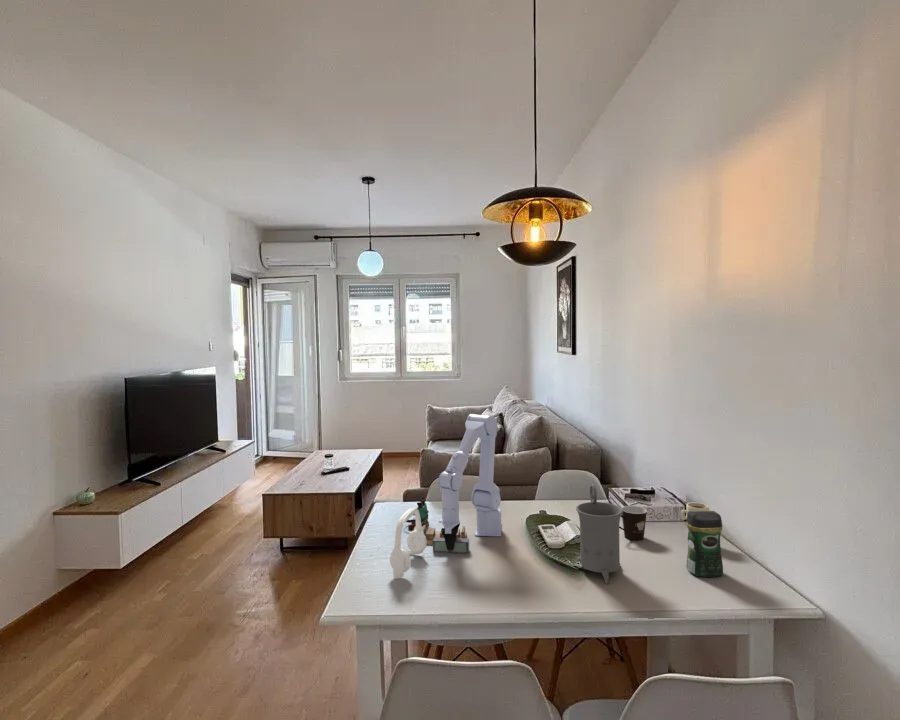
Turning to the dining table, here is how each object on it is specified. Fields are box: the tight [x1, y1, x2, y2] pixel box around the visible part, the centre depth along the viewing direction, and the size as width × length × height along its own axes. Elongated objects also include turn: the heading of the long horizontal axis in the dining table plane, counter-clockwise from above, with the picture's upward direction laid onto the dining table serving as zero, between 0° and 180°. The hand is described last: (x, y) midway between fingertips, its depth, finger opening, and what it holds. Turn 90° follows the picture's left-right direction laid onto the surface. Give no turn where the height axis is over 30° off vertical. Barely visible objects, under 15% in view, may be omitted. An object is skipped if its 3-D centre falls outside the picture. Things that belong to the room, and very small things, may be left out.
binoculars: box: [405, 497, 430, 530], centre depth 202 cm, size 9×11×10 cm
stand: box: [423, 525, 468, 546], centre depth 189 cm, size 16×10×4 cm, turn 83°
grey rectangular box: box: [432, 537, 470, 555], centre depth 178 cm, size 12×3×4 cm, turn 82°
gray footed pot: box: [575, 483, 623, 585], centre depth 161 cm, size 19×15×25 cm
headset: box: [389, 507, 427, 580], centre depth 166 cm, size 20×7×18 cm, turn 164°
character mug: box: [680, 501, 710, 541], centre depth 182 cm, size 11×7×13 cm, turn 81°
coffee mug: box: [619, 505, 648, 542], centre depth 187 cm, size 12×9×10 cm
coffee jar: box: [686, 510, 724, 578], centre depth 159 cm, size 10×8×19 cm
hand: (451, 547), depth 178 cm, fingers closed on grey rectangular box, 3 cm apart
